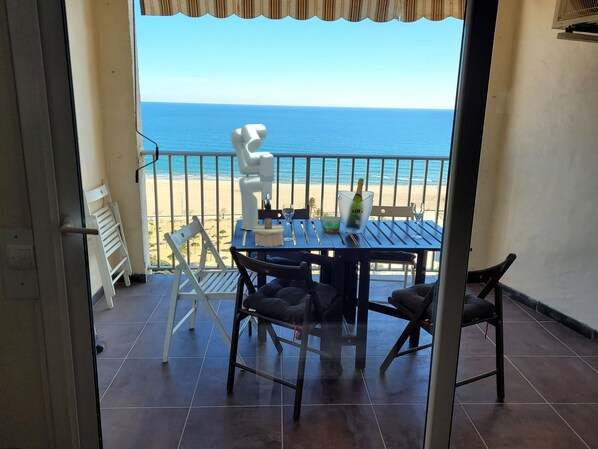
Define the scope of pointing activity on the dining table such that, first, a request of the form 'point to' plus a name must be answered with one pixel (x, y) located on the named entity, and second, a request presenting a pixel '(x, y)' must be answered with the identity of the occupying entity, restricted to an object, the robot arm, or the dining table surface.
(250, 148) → the robot arm
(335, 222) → the food container
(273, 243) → the bowl
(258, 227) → the lid
